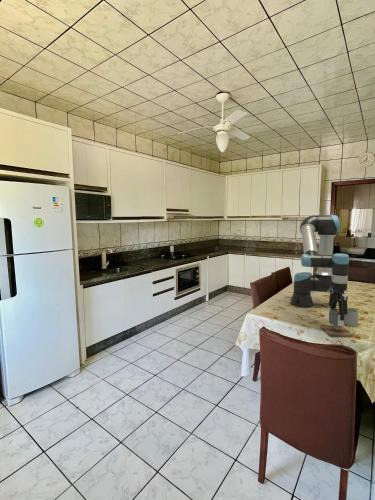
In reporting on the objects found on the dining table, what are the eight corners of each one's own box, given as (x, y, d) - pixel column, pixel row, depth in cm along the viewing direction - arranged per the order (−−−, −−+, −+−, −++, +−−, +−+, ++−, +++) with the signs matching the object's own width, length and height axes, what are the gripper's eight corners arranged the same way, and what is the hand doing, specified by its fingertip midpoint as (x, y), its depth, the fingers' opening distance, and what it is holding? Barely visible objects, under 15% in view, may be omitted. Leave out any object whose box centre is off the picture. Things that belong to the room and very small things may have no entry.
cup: (357, 328, 149) (358, 313, 148) (337, 324, 154) (338, 310, 153) (357, 323, 155) (358, 309, 154) (338, 320, 160) (339, 306, 159)
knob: (326, 320, 147) (327, 307, 146) (339, 320, 147) (340, 307, 146) (333, 325, 140) (334, 312, 139) (346, 325, 140) (347, 312, 139)
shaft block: (319, 327, 150) (320, 317, 149) (341, 327, 150) (341, 317, 149) (330, 336, 138) (331, 325, 138) (353, 337, 138) (354, 326, 137)
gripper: (323, 277, 151) (321, 315, 153) (342, 287, 131) (339, 330, 133) (336, 278, 150) (334, 315, 153) (357, 287, 130) (354, 330, 133)
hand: (336, 322), depth 143 cm, fingers closed on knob, 7 cm apart
